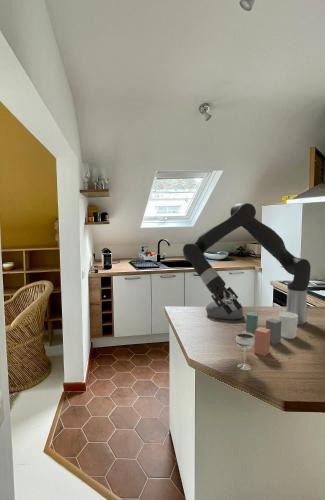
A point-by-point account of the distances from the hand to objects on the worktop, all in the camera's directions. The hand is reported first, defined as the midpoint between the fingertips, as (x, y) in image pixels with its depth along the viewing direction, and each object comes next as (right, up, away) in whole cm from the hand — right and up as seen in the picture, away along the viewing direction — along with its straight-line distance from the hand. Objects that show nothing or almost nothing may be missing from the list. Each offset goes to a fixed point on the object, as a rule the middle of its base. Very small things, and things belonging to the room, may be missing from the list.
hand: (235, 311), depth 126 cm
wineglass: (-1, -17, -17) cm, 24 cm away
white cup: (+26, -14, +11) cm, 32 cm away
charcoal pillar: (+17, -14, +5) cm, 23 cm away
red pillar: (+9, -15, -6) cm, 19 cm away
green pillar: (+11, -13, +14) cm, 22 cm away
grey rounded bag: (+3, -11, +39) cm, 41 cm away
